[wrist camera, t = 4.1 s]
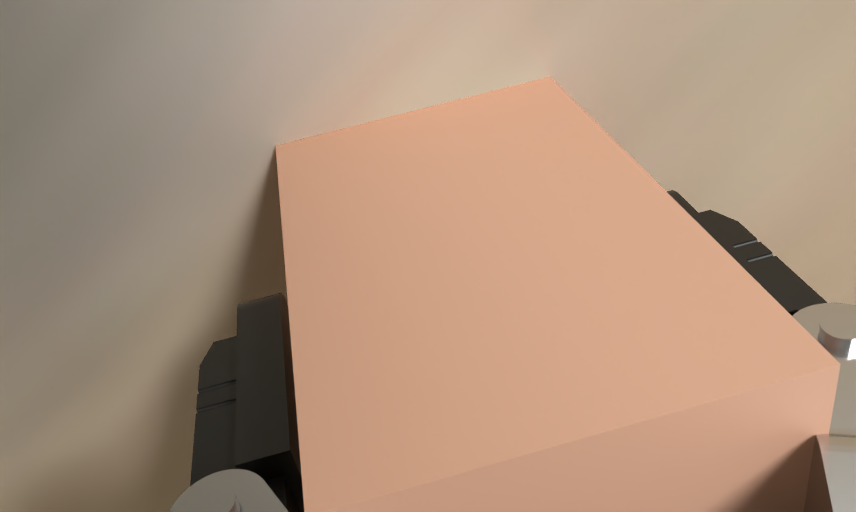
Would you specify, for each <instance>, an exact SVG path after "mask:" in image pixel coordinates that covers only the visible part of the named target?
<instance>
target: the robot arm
mask: <svg viewBox="0 0 856 512" xmlns="http://www.w3.org/2000/svg"><path fill="white" fill-rule="evenodd" d="M667 193H668V194H669V195H670V196H671V197H672V198H673V199H674V200H675V201H676V202H677V203H678V204H679V205H680V206H681V207H682V208H683V209H684V210H685V211H686V212H687V213H688V214H689V215H690V216H691V217H692V218H694V219H695V220H696V221H697V222H698V223H699V224H700V225H701V226H702V227H703V228H704V229H705V230H706V231H707V232H708V233H709V234H710V235H711V236H712V237H713V238H714V239H715V240H716V241H717V242H718V243H719V244H720V245H721V246H722V247H723V248H724V249H725V250H726V251H727V252H728V253H729V254H730V255H731V256H732V257H733V258H734V259H735V260H736V261H737V262H738V263H739V264H740V265H741V266H742V267H743V268H744V269H745V270H746V271H747V272H748V273H749V274H750V275H751V276H752V277H753V278H754V279H755V280H756V281H757V282H758V283H759V284H760V285H761V286H762V287H763V288H764V289H765V290H766V291H767V292H768V293H769V294H770V295H771V296H772V297H773V298H774V299H775V300H776V301H777V302H778V303H779V304H780V305H781V306H782V307H783V308H784V309H785V310H786V311H787V312H788V313H789V314H790V315H791V316H792V317H793V318H794V319H795V320H796V321H797V322H798V323H799V324H800V325H802V326H803V327H804V328H805V329H806V330H807V331H808V332H809V333H810V334H811V335H812V336H813V337H814V338H815V339H816V340H817V341H818V342H819V343H820V344H821V345H822V346H823V347H824V348H825V349H826V350H827V351H828V352H829V353H830V354H831V355H832V356H833V357H834V358H835V359H836V360H837V361H838V362H839V363H840V364H841V365H840V371H839V377H838V383H837V389H836V395H835V401H834V406H833V412H832V418H831V424H830V430H829V434H818V435H815V441H814V448H813V454H812V461H811V467H810V473H809V480H808V486H807V493H806V499H805V506H804V512H856V306H855V305H850V304H843V303H827V302H826V301H825V300H824V299H823V298H822V297H821V296H819V295H818V294H817V293H816V292H815V291H814V290H813V289H812V288H811V287H810V286H808V285H807V284H806V283H805V282H804V281H803V280H802V279H801V278H800V277H799V276H797V275H796V274H795V273H794V272H793V271H792V270H791V269H790V268H789V267H788V266H786V265H785V264H784V263H783V262H782V261H781V260H780V259H779V258H778V257H777V256H774V257H773V255H772V252H771V251H770V250H769V249H768V248H767V247H766V246H764V245H763V244H762V243H761V242H757V238H756V237H755V236H753V235H752V234H751V233H750V232H749V231H748V230H747V229H746V228H745V227H744V226H742V225H741V224H740V223H739V222H738V221H736V220H733V219H731V218H728V217H726V216H724V215H721V214H719V213H717V212H714V211H712V210H708V211H704V212H700V213H698V212H697V211H696V210H695V209H694V208H693V207H692V206H691V205H690V204H689V203H688V202H687V201H686V200H685V199H684V198H683V197H682V196H681V195H680V194H679V193H677V192H676V191H674V190H671V191H667ZM198 391H199V394H198V395H197V408H196V409H197V414H196V421H195V434H194V446H193V459H192V472H191V484H190V487H189V488H188V489H187V490H185V491H184V492H183V493H182V494H181V495H180V497H179V498H178V499H177V500H176V501H175V503H174V504H173V506H172V507H171V509H170V511H169V512H304V500H303V487H302V475H301V462H300V449H299V437H298V424H297V411H296V399H295V386H294V374H293V361H292V348H291V336H290V323H289V310H288V305H287V302H286V299H285V297H284V295H283V294H282V293H279V294H276V295H272V296H268V297H264V298H261V299H257V300H253V301H249V302H246V303H242V304H239V305H238V309H237V336H235V337H231V338H227V339H224V340H220V341H216V342H214V343H213V345H212V346H211V348H210V350H209V351H208V353H207V355H206V356H205V358H204V360H203V361H202V363H201V365H200V370H199V383H198Z"/></svg>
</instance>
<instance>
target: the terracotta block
mask: <svg viewBox="0 0 856 512" xmlns="http://www.w3.org/2000/svg"><path fill="white" fill-rule="evenodd" d="M276 159H277V172H278V184H279V197H280V209H281V222H282V235H283V247H284V260H285V273H286V285H287V298H288V310H289V323H290V336H291V348H292V361H293V374H294V386H295V399H296V411H297V424H298V437H299V449H300V462H301V475H302V487H303V500H304V512H804V506H805V499H806V493H807V486H808V480H809V473H810V467H811V461H812V454H813V448H814V441H815V435H818V434H829V430H830V424H831V418H832V412H833V406H834V401H835V395H836V389H837V383H838V377H839V371H840V365H841V364H840V363H839V362H838V361H837V360H836V359H835V358H834V357H833V356H832V355H831V354H830V353H829V352H828V351H827V350H826V349H825V348H824V347H823V346H822V345H821V344H820V343H819V342H818V341H817V340H816V339H815V338H814V337H813V336H812V335H811V334H810V333H809V332H808V331H807V330H806V329H805V328H804V327H803V326H802V325H800V324H799V323H798V322H797V321H796V320H795V319H794V318H793V317H792V316H791V315H790V314H789V313H788V312H787V311H786V310H785V309H784V308H783V307H782V306H781V305H780V304H779V303H778V302H777V301H776V300H775V299H774V298H773V297H772V296H771V295H770V294H769V293H768V292H767V291H766V290H765V289H764V288H763V287H762V286H761V285H760V284H759V283H758V282H757V281H756V280H755V279H754V278H753V277H752V276H751V275H750V274H749V273H748V272H747V271H746V270H745V269H744V268H743V267H742V266H741V265H740V264H739V263H738V262H737V261H736V260H735V259H734V258H733V257H732V256H731V255H730V254H729V253H728V252H727V251H726V250H725V249H724V248H723V247H722V246H721V245H720V244H719V243H718V242H717V241H716V240H715V239H714V238H713V237H712V236H711V235H710V234H709V233H708V232H707V231H706V230H705V229H704V228H703V227H702V226H701V225H700V224H699V223H698V222H697V221H696V220H695V219H694V218H692V217H691V216H690V215H689V214H688V213H687V212H686V211H685V210H684V209H683V208H682V207H681V206H680V205H679V204H678V203H677V202H676V201H675V200H674V199H673V198H672V197H671V196H670V195H669V194H668V193H667V192H666V191H665V190H664V189H663V188H662V187H661V186H660V185H659V184H658V183H657V182H656V181H655V180H654V179H653V178H652V177H651V176H650V175H649V174H648V173H647V172H646V171H645V170H644V169H643V168H642V167H641V166H640V165H639V164H638V163H637V162H636V161H635V160H634V159H633V158H632V157H631V156H630V155H629V154H628V153H627V152H626V151H625V150H624V149H623V148H622V147H621V146H620V145H619V144H618V143H617V142H616V141H615V140H614V139H613V138H612V137H611V136H610V135H609V134H608V133H607V132H606V131H605V130H604V129H603V128H602V127H601V126H600V125H599V124H598V123H597V122H596V121H595V120H594V119H593V118H592V117H591V116H590V115H589V114H588V113H587V112H586V111H584V110H583V109H582V108H581V107H580V106H579V105H578V104H577V103H576V102H575V101H574V100H573V99H572V98H571V97H570V96H569V95H568V94H567V93H566V92H565V91H564V90H563V89H562V88H561V87H560V86H559V85H558V84H557V83H556V82H555V81H554V80H553V79H552V78H551V77H546V78H542V79H538V80H534V81H530V82H526V83H522V84H519V85H515V86H511V87H507V88H503V89H499V90H495V91H491V92H487V93H483V94H479V95H475V96H471V97H467V98H463V99H459V100H455V101H451V102H447V103H443V104H439V105H435V106H431V107H427V108H423V109H419V110H415V111H411V112H407V113H403V114H399V115H395V116H391V117H387V118H383V119H379V120H375V121H371V122H368V123H364V124H360V125H356V126H352V127H348V128H344V129H340V130H336V131H332V132H328V133H324V134H320V135H316V136H312V137H308V138H304V139H300V140H296V141H292V142H288V143H284V144H280V145H276Z"/></svg>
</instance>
